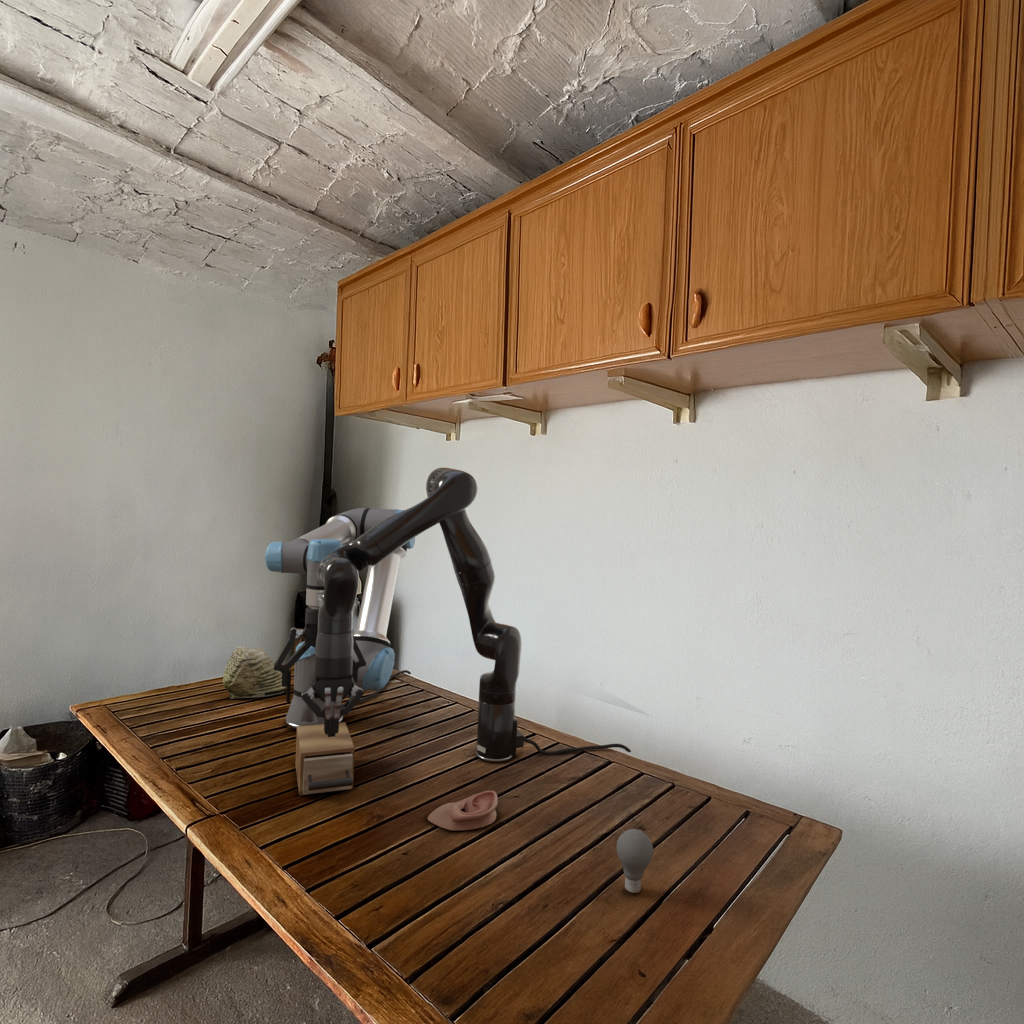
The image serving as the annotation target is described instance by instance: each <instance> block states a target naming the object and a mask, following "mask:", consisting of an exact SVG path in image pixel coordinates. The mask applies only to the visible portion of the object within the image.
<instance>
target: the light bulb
mask: <svg viewBox="0 0 1024 1024" xmlns="http://www.w3.org/2000/svg"><path fill="white" fill-rule="evenodd" d="M615 849H616V854H617V857H618V859H619V861H620V863H621V865H622V867H623V873H624V874H623V875H624V876H625V878H624V888H625V890H627V891H628V892H630V893H634V894H635V893H639V892H640V891H641V889H642V887H641V886H642V879H643V877H644V875H645V871H646V868H647V867H648V866H649V864H650V863H651V861H652V859H653V855H654V847H653V843H652V841H651V838H649V836H648V835H647V834H646V833H645V832H643V831H642V830H641V829H636V828H629V829H627V830H625V831H623V832H622V833H621V834H620V835H619V837H618V839H617V841H616V847H615Z"/></svg>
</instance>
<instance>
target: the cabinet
mask: <svg viewBox="0 0 1024 1024" xmlns="http://www.w3.org/2000/svg"><path fill="white" fill-rule="evenodd" d="M295 735H296V736H295V738H296V740H295V761H294V764H295V765H294V766H295V772H296V781H297V786H298V787H297V789H298V795H299V796H304V795H303V770H304V759H305V756H315V755H325V754H334V753H344V752H348V754H352V755H353V764H352V779H353V780H354V771H355V749H356V748H355V745H354V742H353V740H352V737H351V733H350V731H349V729H348V726H347V723H346V722H345V721H343V722H342V723H339V731H338V733H336V734H335V736H334V737H332V736H331V737H328V736H327V734H325V732H324V724H320V725H308V726H297V731H296V734H295ZM353 789H354V784H353V785H352V788H351V789H350V790H353ZM346 790H348V789H346ZM346 790H345V791H346ZM338 791H340V790H338ZM338 791H337V792H338ZM330 792H332V791H330ZM330 792H329V793H330ZM322 793H324V792H322ZM322 793H321V794H322ZM315 794H316V793H314V795H315ZM307 795H308V794H306V795H305V796H307Z"/></svg>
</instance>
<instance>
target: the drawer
mask: <svg viewBox="0 0 1024 1024" xmlns="http://www.w3.org/2000/svg"><path fill="white" fill-rule="evenodd" d="M352 764H353V755H352V754H348V752H344V753H334V754H325V755H315V756H305V759H304V770H303V795H302V796H307V795H313V794H314V793H315V794H322V792H323V793H330V791H331V792H338V790H339V791H344V790H345V791H346V789H347V790H352V789H351V788H352V785H353V786H354V778H353V779H352ZM306 794H307V795H306ZM315 794H314V795H315Z"/></svg>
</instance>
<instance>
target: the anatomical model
mask: <svg viewBox="0 0 1024 1024" xmlns="http://www.w3.org/2000/svg"><path fill="white" fill-rule="evenodd" d="M498 802H499V800H498V794H497V792H496V791H494V790H485V791H482V792H477V793H474V794H472V795H469V796H468V797H465V798H463V799H461V800H458V801H456V802H449V803H445V804H442V805H440V806H439V807H437V808H435V809H434V810H433V811H431V812H430V814H428V816H427V821H429V823H430V824H432V825H434V826H437V827H439V828H442V829H444V830H448V831H454V832H455V831H456V832H458V831H471V830H475V829H479V828H481V829H482V828H485V827H487V826H489V825H491V824H492V823H494V822H495V821H496V820H497V811H496V808H497V807H498Z"/></svg>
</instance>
